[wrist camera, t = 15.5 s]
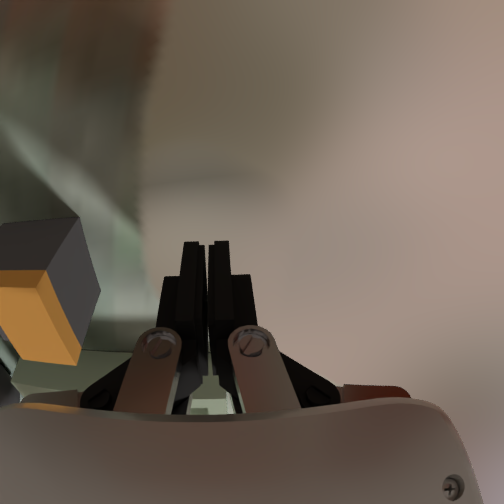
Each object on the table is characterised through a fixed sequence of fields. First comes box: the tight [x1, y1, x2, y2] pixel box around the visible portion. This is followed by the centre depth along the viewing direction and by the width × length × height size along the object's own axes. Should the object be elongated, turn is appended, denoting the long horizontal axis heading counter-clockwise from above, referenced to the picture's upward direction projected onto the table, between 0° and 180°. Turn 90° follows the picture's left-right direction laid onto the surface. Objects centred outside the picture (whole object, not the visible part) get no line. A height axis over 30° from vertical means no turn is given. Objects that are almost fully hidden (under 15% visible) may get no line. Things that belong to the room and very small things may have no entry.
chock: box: [0, 217, 101, 366], centre depth 11 cm, size 4×4×4 cm
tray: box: [11, 350, 227, 415], centre depth 19 cm, size 13×13×3 cm
